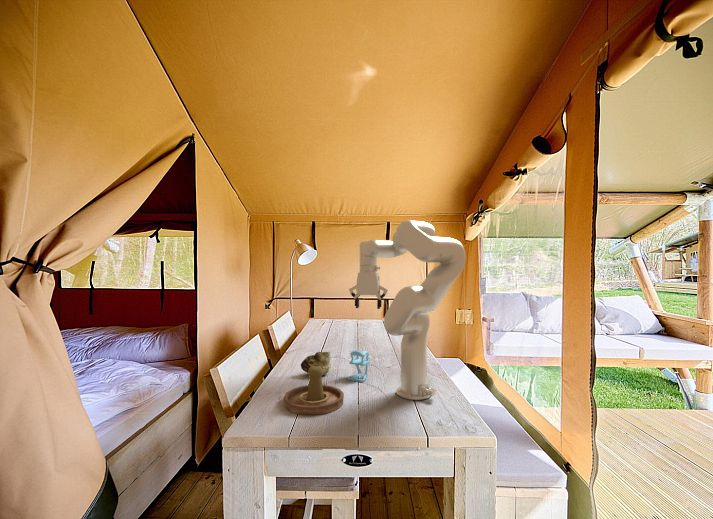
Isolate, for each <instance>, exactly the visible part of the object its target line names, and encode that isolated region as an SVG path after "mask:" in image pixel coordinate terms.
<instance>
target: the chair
mask: <svg viewBox="0 0 713 519" xmlns="http://www.w3.org/2000/svg"><path fill="white" fill-rule="evenodd" d="M349 355H350V358H351V360H350V361H349V365H354V366H355V367H356V369H357V371H358V373H356V374H353V375H349V376H347V378H346V379H347V381H354V382H357V383H358V382H360V383H365V382H366V379H367V377H368V371H369V366H370V363H371V360H370V359H369V355H370V352H369V351H367V350H364V351H361V350H358V349H353V350H351V351H350V354H349ZM354 356H355V357H356V358H355V359H354ZM365 356H366V358H365ZM359 357H361V358H359ZM364 358H365V359H364ZM361 366H362V367H364V366H365V372H364V375H363V372H362V370H361V368H360V367H361ZM362 375H363V377H362ZM358 377H362V378H363V379H362V378H358Z"/></svg>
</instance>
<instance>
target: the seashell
mask: <svg viewBox="0 0 713 519" xmlns="http://www.w3.org/2000/svg"><path fill="white" fill-rule="evenodd" d="M313 366H319V367H321V368H322V369H323V375H322V376H325V375H327V374H328V373H330V370H331V368H332V367H331V366H332V363H331V352H330V351H317V352H315V354H311V355H308V356H307V357H306V358H304V359H303V360H302V361H301V363H300V368H301V370H303V372H305V373H307V374H308V370H309V368H310V367H313Z"/></svg>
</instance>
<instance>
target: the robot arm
mask: <svg viewBox="0 0 713 519" xmlns="http://www.w3.org/2000/svg"><path fill="white" fill-rule="evenodd" d="M407 251H408V252H409V253H410V254H411V255H412V256H414V258H416V259H417V260H419V261H420V262H424V263H438V264H437V266H435V267H434V268H433V269H431V271H430V272H429V273H428V274H427V276H426V278H425V279H424V281H423V282H422V283H421V284H419V285H408V286H405V287H402V289H400V290H399V291H398V292H397V294H396V295H395V297H394V298H393V299H392V301H391V304H390V305H389V307H388V309H387V311H386V313H385V315H384V318H383V327H384V329H385V332H386V333H388V334H389V335H390V336H396V337H397V336H398V337H399V336H402V338H401V341H400V385H399V386H397V388H396V395H397V396H399V397H401V398H403V399H406V400H407V399H408V400H411V401H412V400H413V401H420V400H426V399H429V398H430V397H435V394H436V391H437V390H436V388H434V387H431V386H430V382H428V362H427V361H428V359H427V358H428V356H427V354H428V350H427V349H428V334H429V328H430V321H431V320H430V315H429V313H431V312H434V311H435V310H436V309H437V308H438V306H440V304H441V302H442V301H443V299H444V298H445V297H446V296H447V293H448V291H449V290H450V288H451V287H452V286H453V284H455V282H456V281H457V279H458V278H459V277H460V276H461V274H462V272H463V270H464V268H465V266H466V259H467V258H466V257H467V255H466V250H465V247H464V245H463V244H462V243H461V242H460V241H459V240H457V239H454V238H453V237H452V238H451V237H443V236H436V230H435V227H434V226H433V225H432V224H430V223H429V222H426V221H420V220H412V219H407V220H404V221H401V222H400V223H399V224H398V226H397V227H396V230H395V232H394V233H393V235H392V240H389V239H388V240H387V239H369V240H365V241H361V242H360V243H359V271H358V273H357V277H356V285H354V286H352V287H351V288H349V289H348V291H349V293H350V295H351V296H352V298H353V299H354V307H355V309H359V308H360V299H359V298H360V296H375V297H376V298H377V301H376V302H377V303H376V308H377V310H380V309H381V307H382V299H384V298H385V297H386V295H387V293H388V291H389V290H388V289H387V288H385V287H384V286H382V285H381V278H380V274H379V272H378V271H379V270H381V267H380V266H378V265H377V263H378V262H377V261H378V259H379V258H385V259H390V258H391V259H392V258H396V257H400V256H403V255H404V254H406V253H407ZM354 290H356V291H355V292H356V293H355V292H354ZM381 291H383V293H382V294H381Z"/></svg>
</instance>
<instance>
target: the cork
mask: <svg viewBox="0 0 713 519" xmlns="http://www.w3.org/2000/svg"><path fill="white" fill-rule="evenodd" d="M307 376H308V377H309V378H308V379H309V380H308V393H307V401H312V402H313V401H320V400H323V399H324V393H323V385H324V384H323V379H322V378H323V376H324V375H323V369H322V368H321V367H319V366H313V367H310V368H309V370H308V373H307Z"/></svg>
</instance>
